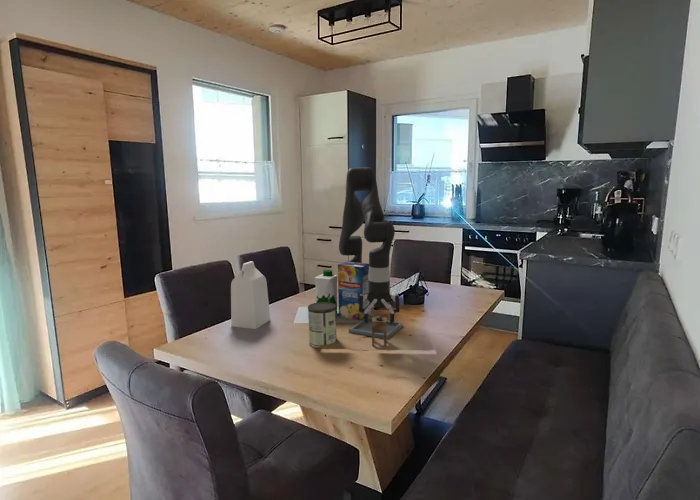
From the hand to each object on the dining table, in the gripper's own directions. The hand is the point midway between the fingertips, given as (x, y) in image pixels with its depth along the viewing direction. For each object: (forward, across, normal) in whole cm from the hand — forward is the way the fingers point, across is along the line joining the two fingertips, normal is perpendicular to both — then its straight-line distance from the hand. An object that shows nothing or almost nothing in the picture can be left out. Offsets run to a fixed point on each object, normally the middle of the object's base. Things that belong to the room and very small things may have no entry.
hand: (379, 323), depth 150 cm
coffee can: (+9, -21, +2) cm, 23 cm away
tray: (+9, -1, +15) cm, 17 cm away
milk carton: (+9, -23, +34) cm, 42 cm away
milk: (+9, -54, +24) cm, 60 cm away
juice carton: (+9, -10, +31) cm, 34 cm away
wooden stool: (+9, 0, 0) cm, 9 cm away
